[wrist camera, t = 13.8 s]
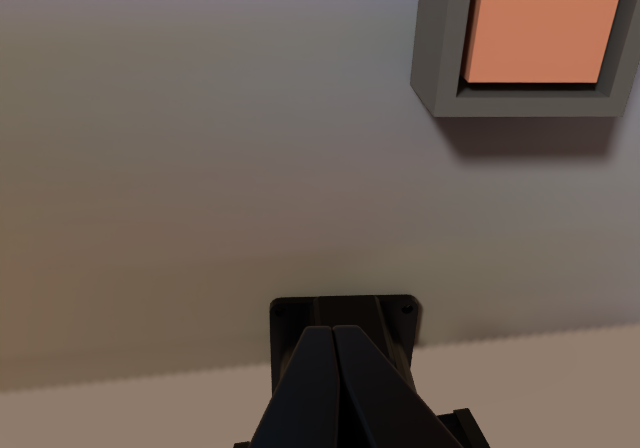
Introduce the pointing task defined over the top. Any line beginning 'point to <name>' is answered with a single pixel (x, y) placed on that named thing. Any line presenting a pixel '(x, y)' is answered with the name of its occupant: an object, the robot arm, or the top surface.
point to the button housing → (517, 97)
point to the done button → (536, 40)
